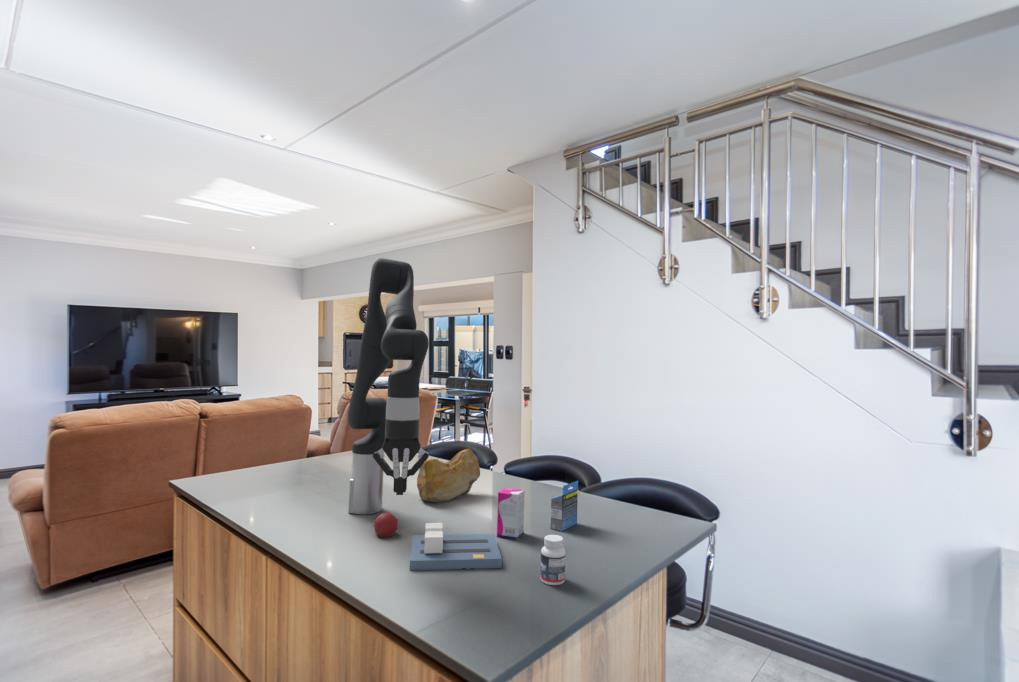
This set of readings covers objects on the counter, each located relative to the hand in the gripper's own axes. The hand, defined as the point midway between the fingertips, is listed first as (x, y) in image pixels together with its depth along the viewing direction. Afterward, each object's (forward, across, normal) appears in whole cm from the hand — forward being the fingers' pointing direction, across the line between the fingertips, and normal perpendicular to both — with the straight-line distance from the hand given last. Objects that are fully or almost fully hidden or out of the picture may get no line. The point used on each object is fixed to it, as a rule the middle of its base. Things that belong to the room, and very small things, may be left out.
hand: (400, 494), depth 116 cm
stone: (+15, +11, +55) cm, 58 cm away
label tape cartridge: (+15, +44, +22) cm, 51 cm away
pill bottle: (+15, +33, -12) cm, 38 cm away
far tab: (+13, +8, +6) cm, 16 cm away
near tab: (+13, +8, 0) cm, 15 cm away
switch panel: (+15, +13, +3) cm, 20 cm away
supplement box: (+15, +28, +16) cm, 36 cm away
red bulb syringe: (+15, -5, +17) cm, 23 cm away
